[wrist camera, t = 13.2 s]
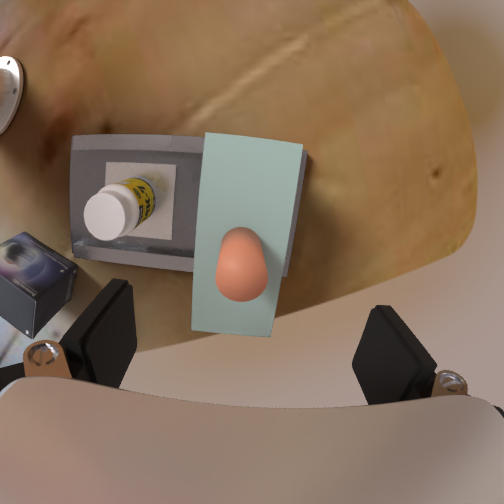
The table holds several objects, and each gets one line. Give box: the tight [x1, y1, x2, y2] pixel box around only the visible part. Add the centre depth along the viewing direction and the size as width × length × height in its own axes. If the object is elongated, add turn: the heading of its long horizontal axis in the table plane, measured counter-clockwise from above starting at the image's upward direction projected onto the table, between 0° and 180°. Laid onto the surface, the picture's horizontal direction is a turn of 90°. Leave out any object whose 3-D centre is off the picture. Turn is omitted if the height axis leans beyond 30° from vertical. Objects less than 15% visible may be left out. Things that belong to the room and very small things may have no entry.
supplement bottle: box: [84, 178, 156, 241], centre depth 25 cm, size 5×5×8 cm
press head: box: [191, 133, 303, 337], centre depth 22 cm, size 6×14×15 cm, turn 173°
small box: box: [0, 232, 78, 339], centre depth 28 cm, size 11×6×10 cm, turn 61°
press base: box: [70, 134, 308, 277], centre depth 30 cm, size 26×14×3 cm, turn 83°
